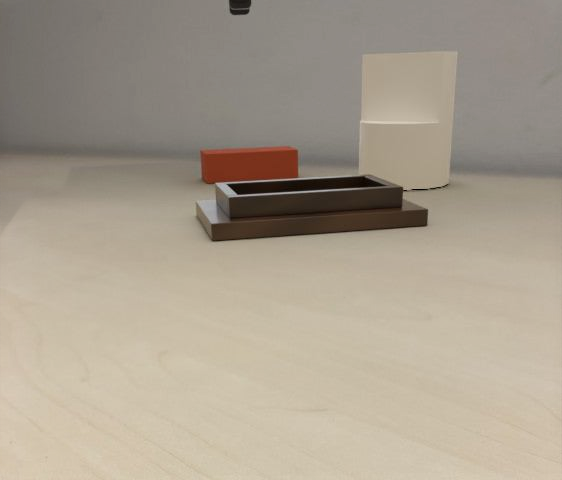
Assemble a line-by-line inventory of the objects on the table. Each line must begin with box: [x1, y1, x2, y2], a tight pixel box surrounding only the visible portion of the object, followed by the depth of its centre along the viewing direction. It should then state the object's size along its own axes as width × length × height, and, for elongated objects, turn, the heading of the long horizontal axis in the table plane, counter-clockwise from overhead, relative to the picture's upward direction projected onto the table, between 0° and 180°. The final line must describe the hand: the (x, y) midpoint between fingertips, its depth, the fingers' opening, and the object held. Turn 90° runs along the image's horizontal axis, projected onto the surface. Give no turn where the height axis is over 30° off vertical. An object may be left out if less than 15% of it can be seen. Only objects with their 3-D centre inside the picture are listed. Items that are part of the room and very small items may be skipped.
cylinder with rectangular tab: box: [358, 50, 459, 190], centre depth 69 cm, size 9×9×12 cm
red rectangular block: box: [199, 145, 299, 185], centre depth 77 cm, size 10×4×3 cm, turn 102°
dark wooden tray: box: [195, 174, 429, 242], centre depth 54 cm, size 16×10×3 cm, turn 102°
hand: (240, 12), depth 74 cm, fingers open, 8 cm apart
